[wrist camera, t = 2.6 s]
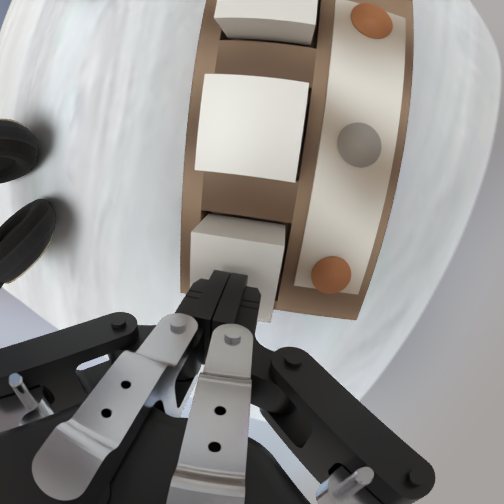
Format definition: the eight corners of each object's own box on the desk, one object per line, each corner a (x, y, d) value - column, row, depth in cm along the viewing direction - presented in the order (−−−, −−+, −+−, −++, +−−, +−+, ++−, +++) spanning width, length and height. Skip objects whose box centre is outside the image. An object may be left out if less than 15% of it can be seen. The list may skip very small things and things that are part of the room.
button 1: (208, 213, 15) (191, 231, 12) (285, 225, 15) (284, 246, 12) (204, 280, 17) (189, 308, 14) (273, 291, 17) (270, 322, 14)
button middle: (221, 85, 12) (204, 73, 10) (304, 93, 12) (309, 82, 9) (212, 162, 14) (194, 170, 11) (293, 173, 14) (295, 182, 11)
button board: (224, -12, 11) (211, -37, 8) (395, 15, 11) (415, -5, 8) (194, 270, 20) (177, 296, 16) (348, 294, 19) (357, 325, 16)
